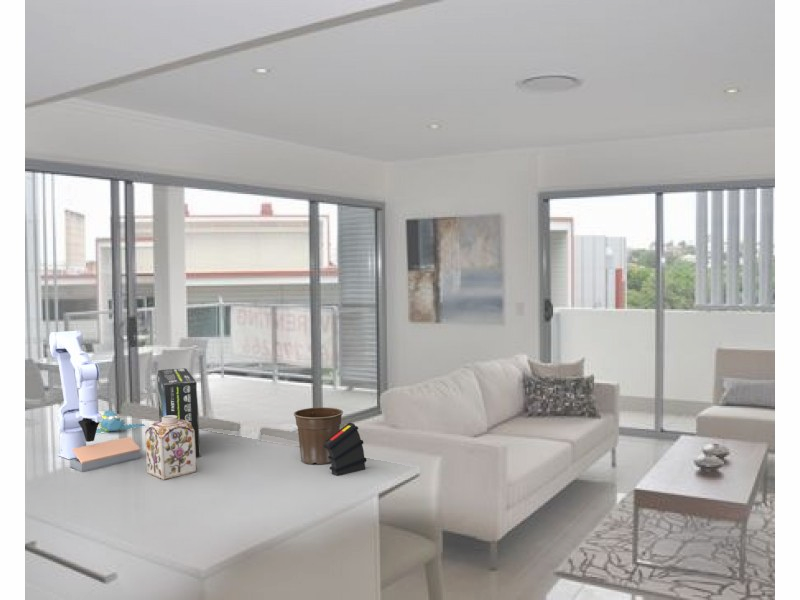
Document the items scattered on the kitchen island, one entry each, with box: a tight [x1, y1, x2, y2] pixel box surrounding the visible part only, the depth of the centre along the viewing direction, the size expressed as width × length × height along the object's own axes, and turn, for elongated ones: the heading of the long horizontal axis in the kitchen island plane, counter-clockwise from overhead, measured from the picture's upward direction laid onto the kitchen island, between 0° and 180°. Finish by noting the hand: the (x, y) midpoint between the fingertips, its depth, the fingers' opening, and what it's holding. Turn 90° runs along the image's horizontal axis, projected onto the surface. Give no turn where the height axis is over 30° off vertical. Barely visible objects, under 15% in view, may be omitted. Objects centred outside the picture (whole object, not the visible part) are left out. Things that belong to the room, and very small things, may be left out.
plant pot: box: [293, 406, 344, 465], centre depth 233 cm, size 16×16×16 cm
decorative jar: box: [144, 415, 197, 481], centre depth 222 cm, size 12×12×18 cm
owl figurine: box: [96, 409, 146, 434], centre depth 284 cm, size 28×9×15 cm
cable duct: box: [69, 450, 141, 473], centre depth 236 cm, size 8×20×2 cm, turn 139°
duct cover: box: [72, 436, 141, 464], centre depth 235 cm, size 7×20×1 cm, turn 140°
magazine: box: [324, 422, 367, 476], centre depth 218 cm, size 4×13×15 cm, turn 127°
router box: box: [156, 368, 201, 458], centre depth 253 cm, size 36×11×27 cm, turn 23°
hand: (90, 441), depth 232 cm, fingers closed
